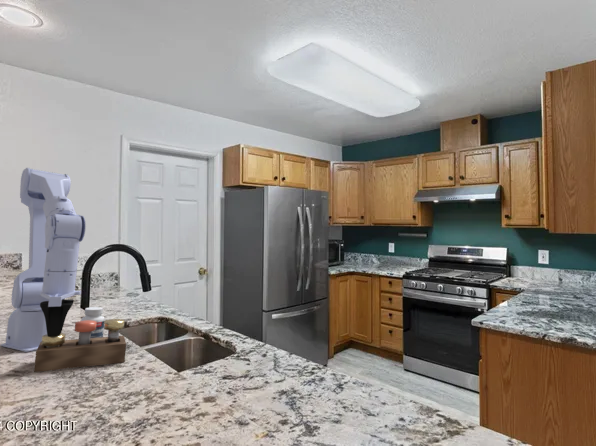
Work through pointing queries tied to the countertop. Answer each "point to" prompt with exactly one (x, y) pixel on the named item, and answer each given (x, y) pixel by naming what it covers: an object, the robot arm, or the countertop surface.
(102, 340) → the block
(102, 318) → the pill bottle
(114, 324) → the right brass button
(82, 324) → the red knob
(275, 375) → the countertop surface
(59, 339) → the left brass button
